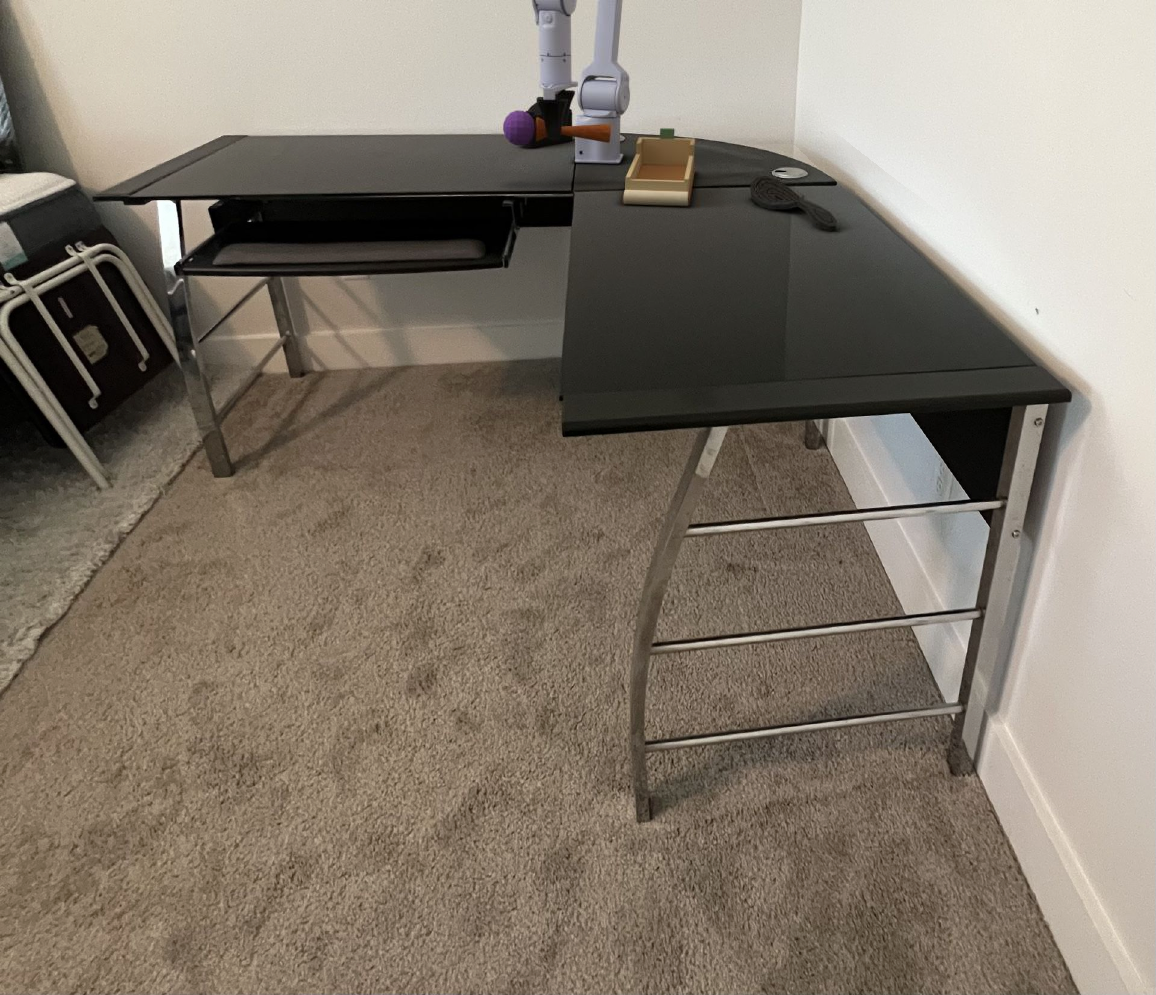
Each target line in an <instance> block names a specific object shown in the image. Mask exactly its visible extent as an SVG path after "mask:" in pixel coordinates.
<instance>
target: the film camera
mask: <svg viewBox="0 0 1156 995" xmlns="http://www.w3.org/2000/svg"><path fill="white" fill-rule="evenodd" d="M525 112H526V113H528V114H529V115H530V116H531V117H532V118H533V120H534V123H535V125H536V119H537V117H538V118H540V119H542V120H544V119H543V115H542V113H541V110H540V108H539V106H538V104H537V101H536V102H534V103H533V104H532V105H531V106H530V107H529V108H528V109H527V110H525ZM567 126H573V109H571V108H570V109H569V114H568V121H567ZM573 138H574V137H573V136H567V135H561V136H560V139H559V140H549V139H548V137H546V138H543V139H541V140H539V141H536V136H535V134H534V137H533V139H532V140H531V141H530V142H529V143H528V144H525V145H522V148H524V149H536V148H543V147H548V146H552V145H557V144H562V143H568V142H571V141H573Z"/></svg>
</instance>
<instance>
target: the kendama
mask: <svg viewBox="0 0 1156 995" xmlns="http://www.w3.org/2000/svg"><path fill="white" fill-rule="evenodd" d="M502 131H503V134H504V137H505V139H506V140H507V141H508V142H509V143H511V144H512V145H514V146H522V145H525V144H528V143H529V142H530V141H531V140H532V139H533V137H534V134H535V136H536V141H539V140H541V139H543V138H546V137H548V136H547V132H546V128H545V123H544V120H542V119H540V118H538V117H537V119H536V125H535V123H534V120H533V118H532V117H531V116H530V115H529V114H528V113H526V111H524V110H514V111H511V112H510V113H509V114H508V115H506V117H505V118H504V121H503V124H502ZM561 135H567V136H573V138H575V137H578V138H584V139H589V140H595V141H600V142H606V143H609V142H610V135H611V125H610V124H598V125H581V126H575V125H572V126H565V127H562V129H561ZM522 147H523V146H522Z"/></svg>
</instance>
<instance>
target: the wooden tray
mask: <svg viewBox="0 0 1156 995" xmlns="http://www.w3.org/2000/svg"><path fill="white" fill-rule="evenodd" d="M675 131H676V130H675V128H673V127H672V128H671V127H670V128H669V127H660V128H659V137H647V136H646V137H642V136H641V137H638V139H637V141H636V144H635V145H636V146H635V147H636V148H635V156H634V158H633V160H632V162H631V164H630V166H629V169H628V171H627V174H626V176H625V182H624V183H625V185H624V188H625V189H624V192H623V194H622V204H623V205H637V206H639V205H640V206H644V205H645V206H664V207H666V206H667V207H668V206H669V207H689V206H690V204H691V203H690V202H691V197H692V190H693V184H694V179H695V173H696V164H694V162H695V145H696V138H684V137H683V138H679V137H678V138H677V137H675Z"/></svg>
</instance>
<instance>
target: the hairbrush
mask: <svg viewBox="0 0 1156 995" xmlns="http://www.w3.org/2000/svg"><path fill="white" fill-rule="evenodd" d="M765 173H766V174H768V171H766V172H765ZM758 174H759V172H757V173H755V175H756V177H755V176H753V177H752V181H751V182H750V187H749V191H750V198H751V200H753V201H754V202H755V203H756V204H757V205H758V206H759V207H760V208H764V209H769V210H790V209H801V210H803V211H805V212H806V213H807V214H808V216H809V217H810V219H811V220H812V221H813V222H814V223H815V224H816V225H817V226H818V227H819V228H821V229H823V230H826V231H827V232H834V231H836V228H837V222H838V219H837V218H836V217H835V216H834V215H833V213H832V212H830V211H829V210H827V209H825V208H824V207H822V206H821V205H819V204H816V203H814V202H812V201H810V200H807V199H806V200H805V195H803V194H802V193H801V192H799V190H796V191H795V187H792V185H791V184H789V186H788V185H786V184H785V183H786V181H782V178H781V179H778V178H779V177H780V176H779V175H777V177H776V174H774V175H773V173H772V171H770V176H769V175H765V174H764V171H762V174H763V175H760V176H758ZM774 177H775V178H774ZM796 192H797V193H796ZM798 193H799V194H798ZM800 195H801V196H800Z"/></svg>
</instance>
